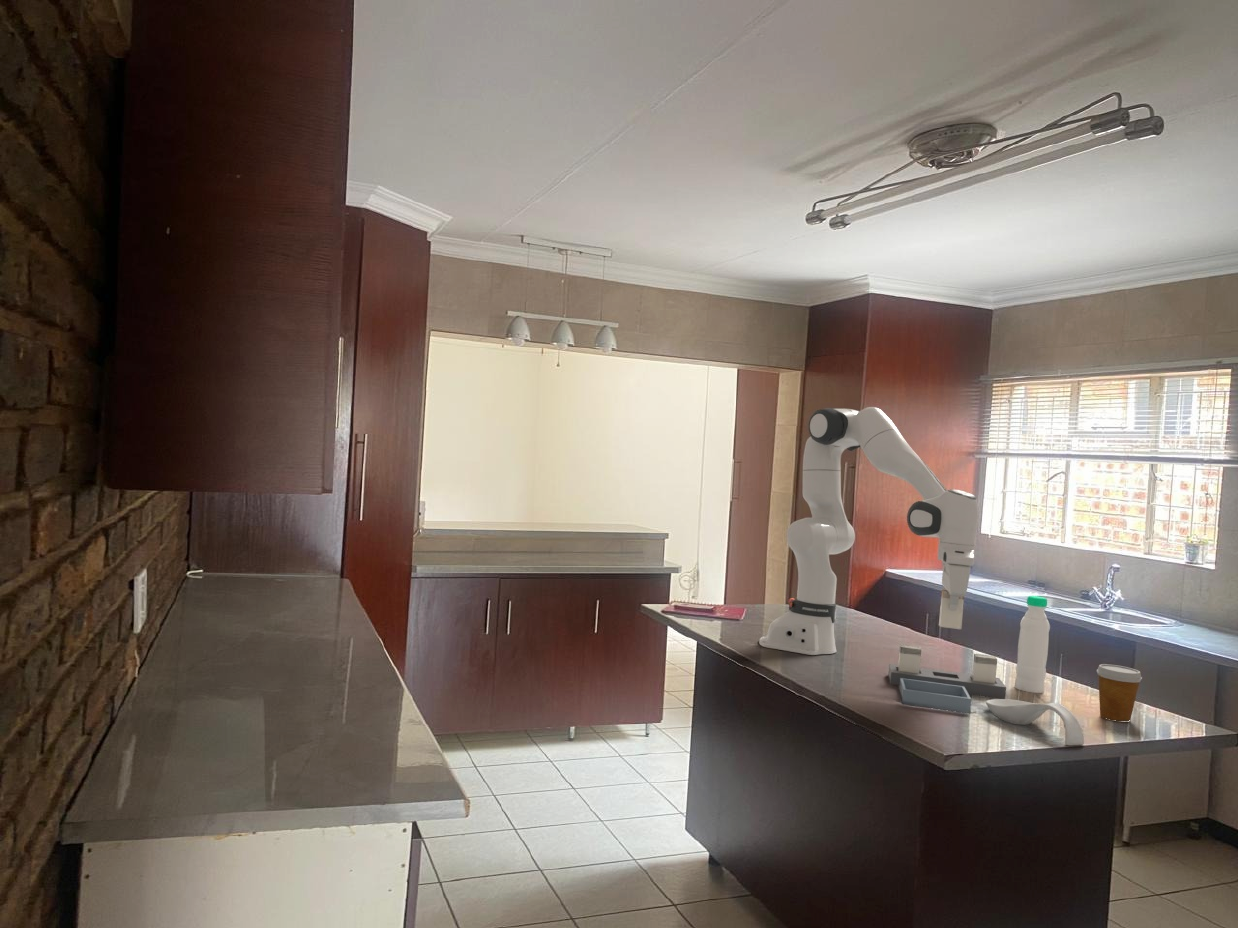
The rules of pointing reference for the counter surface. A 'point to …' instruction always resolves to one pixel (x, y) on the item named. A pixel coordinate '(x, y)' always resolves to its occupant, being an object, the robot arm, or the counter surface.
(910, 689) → the tray
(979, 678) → the block
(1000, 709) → the spoon rest
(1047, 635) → the water bottle
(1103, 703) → the disposable coffee cup
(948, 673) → the fuse strip
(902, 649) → the block
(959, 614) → the orange cap fuse
